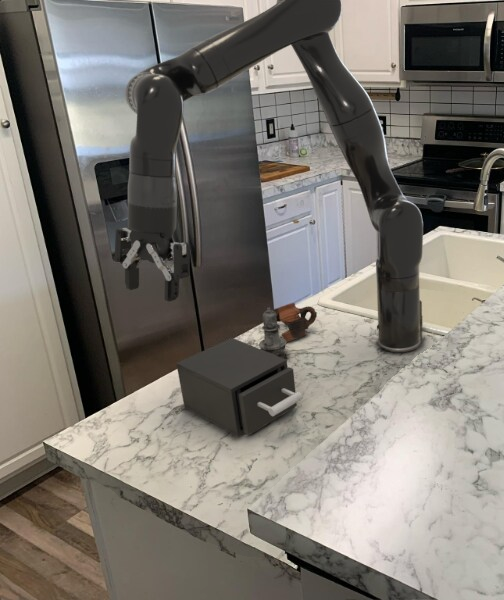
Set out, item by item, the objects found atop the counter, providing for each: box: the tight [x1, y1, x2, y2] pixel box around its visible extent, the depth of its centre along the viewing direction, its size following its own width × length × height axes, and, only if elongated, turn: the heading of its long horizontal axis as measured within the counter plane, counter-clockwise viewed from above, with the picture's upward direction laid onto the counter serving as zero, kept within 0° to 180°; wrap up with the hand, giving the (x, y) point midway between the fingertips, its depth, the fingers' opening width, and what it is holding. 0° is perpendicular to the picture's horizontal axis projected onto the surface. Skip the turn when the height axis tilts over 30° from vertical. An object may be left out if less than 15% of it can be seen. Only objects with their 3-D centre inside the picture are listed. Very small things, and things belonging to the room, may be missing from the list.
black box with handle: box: [235, 366, 303, 436], centre depth 110 cm, size 19×11×8 cm, turn 53°
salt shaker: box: [258, 306, 288, 360], centre depth 130 cm, size 6×6×12 cm
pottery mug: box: [271, 302, 318, 343], centre depth 143 cm, size 12×10×8 cm
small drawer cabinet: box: [176, 337, 289, 438], centre depth 113 cm, size 16×13×10 cm
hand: (151, 294), depth 105 cm, fingers open, 8 cm apart
